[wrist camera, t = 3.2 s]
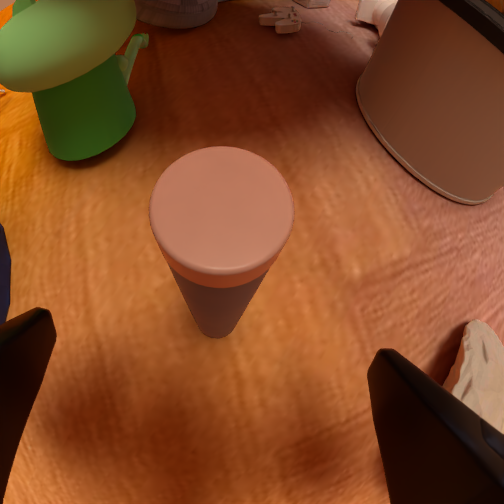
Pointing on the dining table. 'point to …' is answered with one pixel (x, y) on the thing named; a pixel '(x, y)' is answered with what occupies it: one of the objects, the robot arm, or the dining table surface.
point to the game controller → (283, 20)
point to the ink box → (313, 3)
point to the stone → (480, 373)
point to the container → (441, 95)
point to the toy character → (73, 70)
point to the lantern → (4, 276)
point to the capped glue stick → (220, 229)
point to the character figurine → (375, 12)
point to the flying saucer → (176, 12)
